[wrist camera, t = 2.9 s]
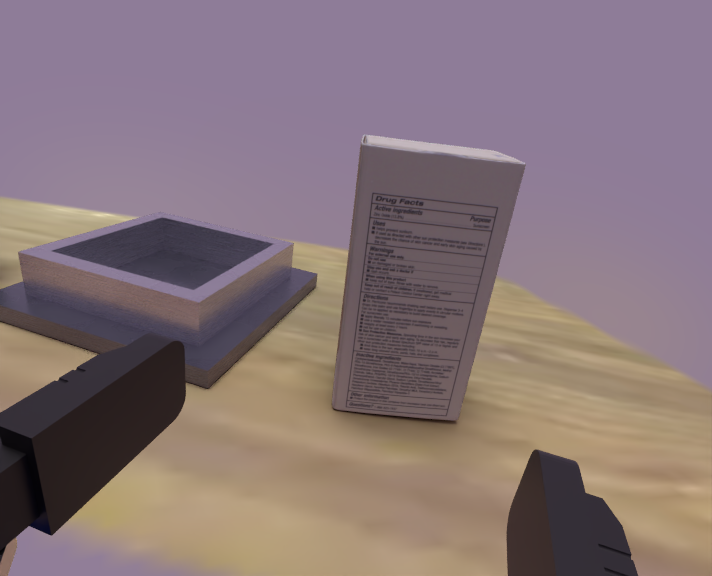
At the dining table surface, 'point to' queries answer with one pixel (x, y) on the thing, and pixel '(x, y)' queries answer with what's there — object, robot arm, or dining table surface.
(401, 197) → the skincare box
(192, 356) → the tray
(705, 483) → the dining table surface
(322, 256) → the dining table surface
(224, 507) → the dining table surface
